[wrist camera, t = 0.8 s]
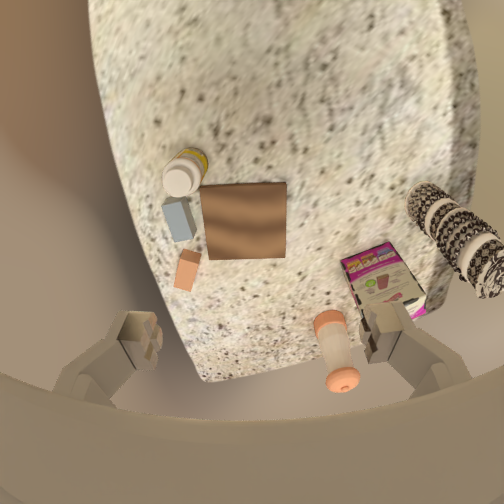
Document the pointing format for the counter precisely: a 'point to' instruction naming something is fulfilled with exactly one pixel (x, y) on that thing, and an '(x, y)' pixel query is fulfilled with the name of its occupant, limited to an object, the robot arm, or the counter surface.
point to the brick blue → (179, 218)
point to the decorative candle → (459, 237)
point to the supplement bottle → (184, 172)
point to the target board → (245, 220)
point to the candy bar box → (383, 280)
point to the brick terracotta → (187, 270)
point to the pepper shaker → (336, 351)
